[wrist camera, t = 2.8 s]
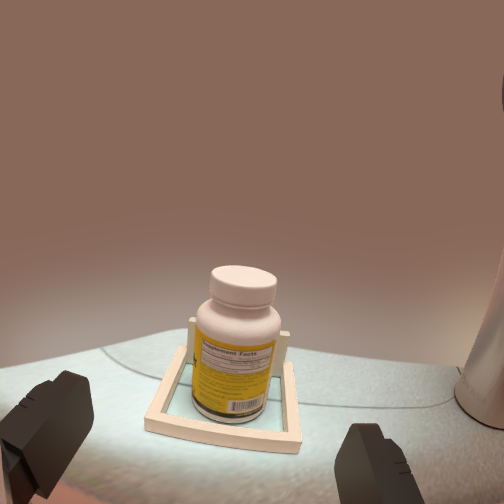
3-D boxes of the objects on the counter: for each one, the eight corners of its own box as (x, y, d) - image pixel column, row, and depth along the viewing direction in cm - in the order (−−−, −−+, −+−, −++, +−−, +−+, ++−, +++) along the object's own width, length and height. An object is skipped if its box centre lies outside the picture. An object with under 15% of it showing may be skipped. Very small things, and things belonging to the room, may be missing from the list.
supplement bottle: (211, 372, 25) (225, 256, 23) (274, 393, 23) (299, 274, 21) (176, 406, 20) (183, 274, 18) (248, 436, 18) (275, 299, 16)
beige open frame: (289, 373, 26) (298, 333, 25) (297, 453, 17) (313, 409, 16) (179, 356, 26) (181, 315, 25) (145, 430, 17) (142, 382, 16)
